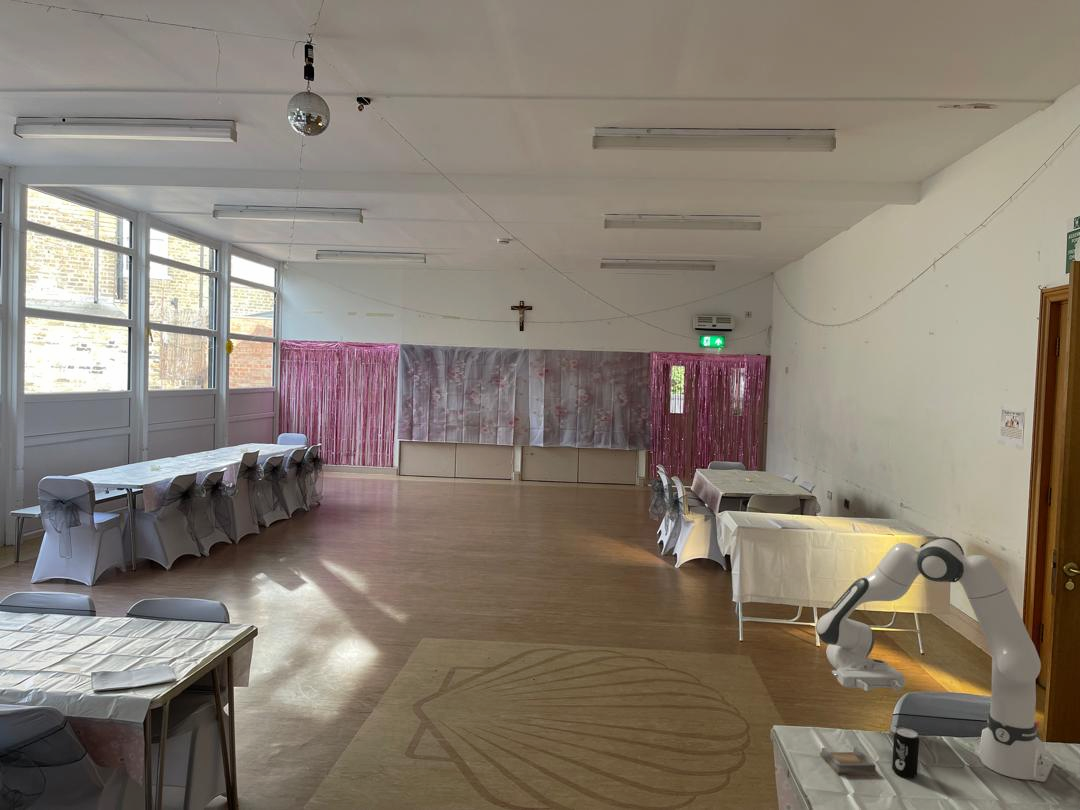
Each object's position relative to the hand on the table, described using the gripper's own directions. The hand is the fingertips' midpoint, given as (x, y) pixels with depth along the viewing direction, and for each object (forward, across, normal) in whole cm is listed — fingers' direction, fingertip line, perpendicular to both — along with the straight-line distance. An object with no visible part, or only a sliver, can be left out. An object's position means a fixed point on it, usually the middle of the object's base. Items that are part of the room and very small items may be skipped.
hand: (883, 688), depth 221 cm
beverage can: (+12, 0, +20) cm, 23 cm away
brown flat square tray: (+8, -15, +19) cm, 25 cm away
